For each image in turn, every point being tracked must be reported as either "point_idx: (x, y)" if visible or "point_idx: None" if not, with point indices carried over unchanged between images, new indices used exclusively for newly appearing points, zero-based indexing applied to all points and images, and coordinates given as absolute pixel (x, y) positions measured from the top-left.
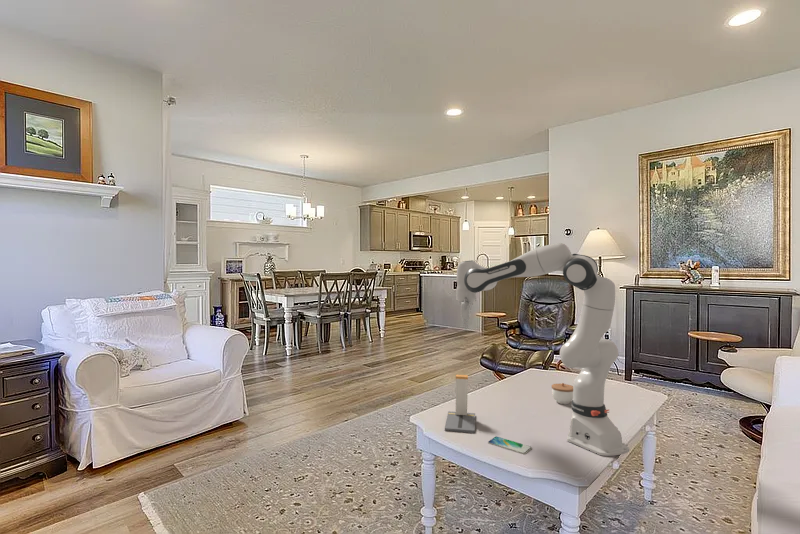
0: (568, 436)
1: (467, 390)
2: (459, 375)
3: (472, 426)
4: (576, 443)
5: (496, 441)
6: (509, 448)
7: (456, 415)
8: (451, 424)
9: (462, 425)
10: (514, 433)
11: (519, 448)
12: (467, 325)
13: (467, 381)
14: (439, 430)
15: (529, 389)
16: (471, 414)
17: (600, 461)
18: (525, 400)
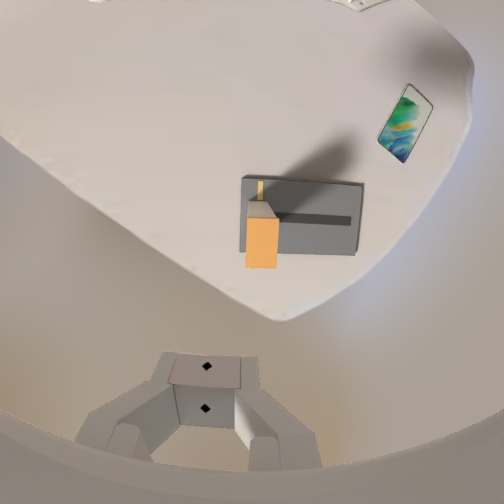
0: (351, 4)
1: (251, 209)
2: (259, 254)
3: (338, 189)
4: (373, 4)
5: (399, 145)
6: (422, 127)
7: None
8: (332, 240)
9: (335, 214)
10: (345, 95)
11: (419, 108)
12: (257, 376)
13: (272, 216)
14: (352, 265)
15: (33, 63)
16: (252, 188)
17: (419, 6)
18: (102, 56)
